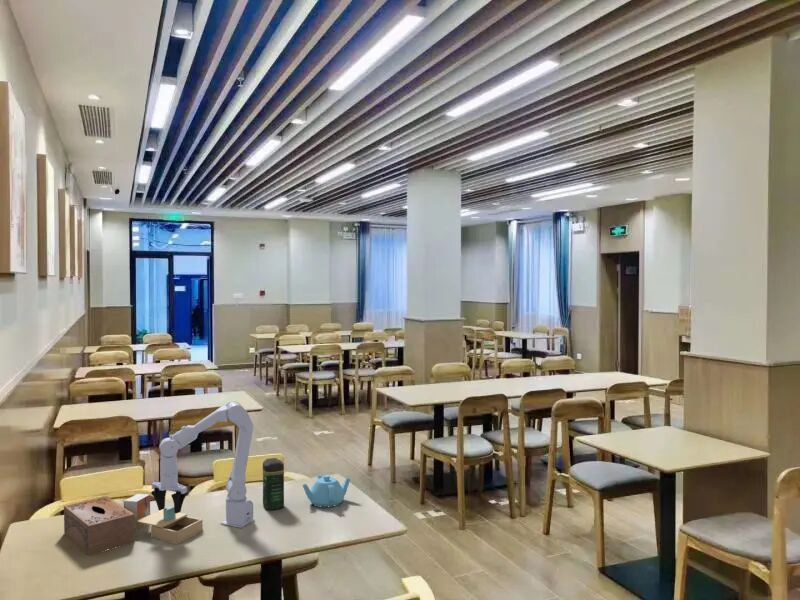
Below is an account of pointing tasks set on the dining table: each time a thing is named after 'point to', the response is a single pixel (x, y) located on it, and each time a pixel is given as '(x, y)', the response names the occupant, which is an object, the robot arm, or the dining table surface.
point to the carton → (178, 530)
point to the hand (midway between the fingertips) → (169, 510)
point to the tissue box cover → (99, 525)
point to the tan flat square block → (162, 517)
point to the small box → (138, 507)
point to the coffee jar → (273, 483)
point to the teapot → (326, 491)
